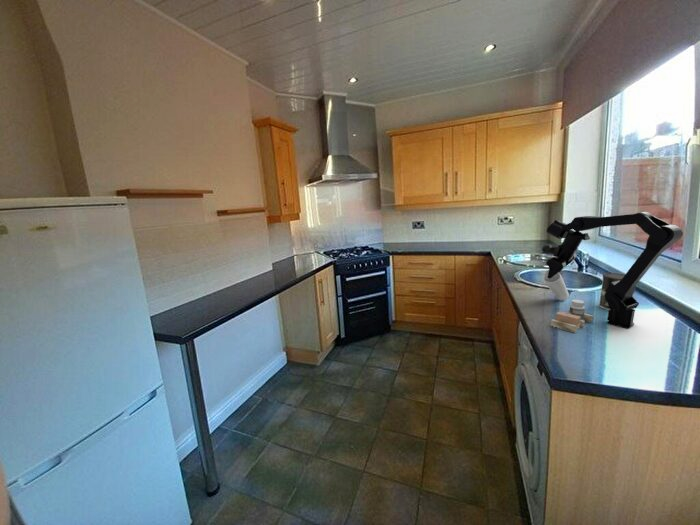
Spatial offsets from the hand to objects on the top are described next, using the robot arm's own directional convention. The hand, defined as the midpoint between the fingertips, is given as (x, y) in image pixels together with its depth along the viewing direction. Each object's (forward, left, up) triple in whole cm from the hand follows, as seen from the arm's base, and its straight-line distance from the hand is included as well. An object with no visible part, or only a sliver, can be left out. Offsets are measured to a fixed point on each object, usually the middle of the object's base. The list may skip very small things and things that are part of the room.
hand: (552, 274), depth 135 cm
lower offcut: (-15, +21, -14) cm, 29 cm away
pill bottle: (-15, +13, -14) cm, 24 cm away
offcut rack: (-15, +17, -13) cm, 26 cm away
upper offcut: (-15, +21, -11) cm, 28 cm away
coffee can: (-19, -14, -14) cm, 27 cm away
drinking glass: (-1, -9, -12) cm, 15 cm away
